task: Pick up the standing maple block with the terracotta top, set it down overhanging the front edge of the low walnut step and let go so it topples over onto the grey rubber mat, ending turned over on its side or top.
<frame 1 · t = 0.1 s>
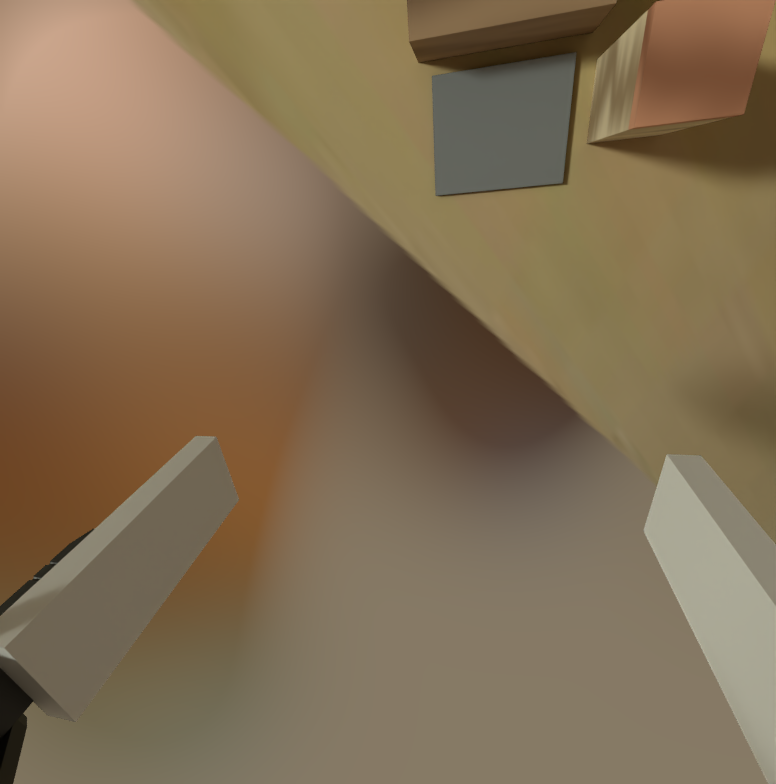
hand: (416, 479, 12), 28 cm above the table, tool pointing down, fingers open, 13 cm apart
block: (629, 98, 27), on the table
mat: (498, 131, 30), on the table
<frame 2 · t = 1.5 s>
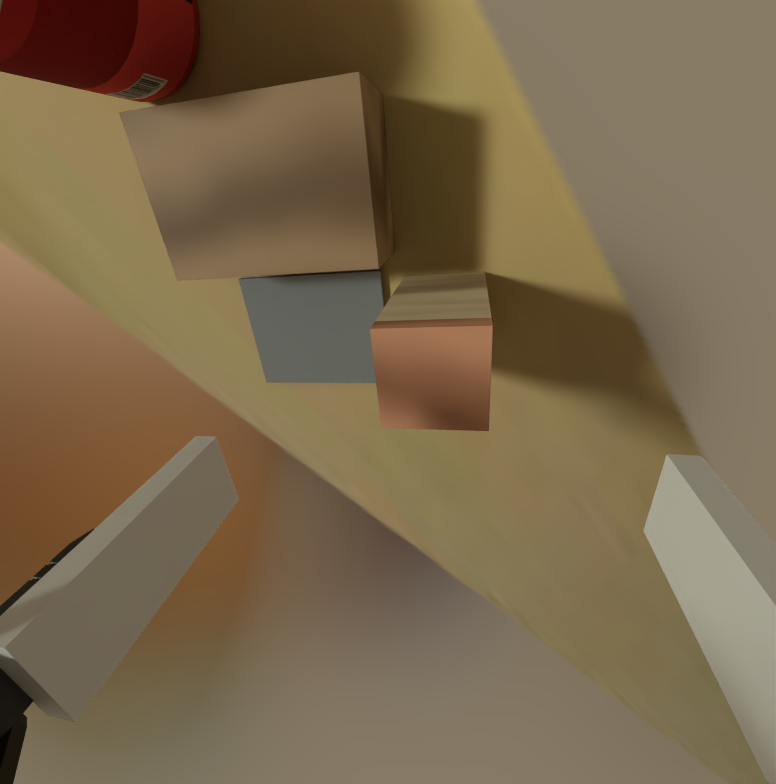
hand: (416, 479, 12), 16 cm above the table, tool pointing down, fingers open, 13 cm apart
block: (444, 312, 25), on the table
step: (293, 190, 23), on the table
canned food: (140, 16, 21), on the table
mat: (319, 330, 28), on the table
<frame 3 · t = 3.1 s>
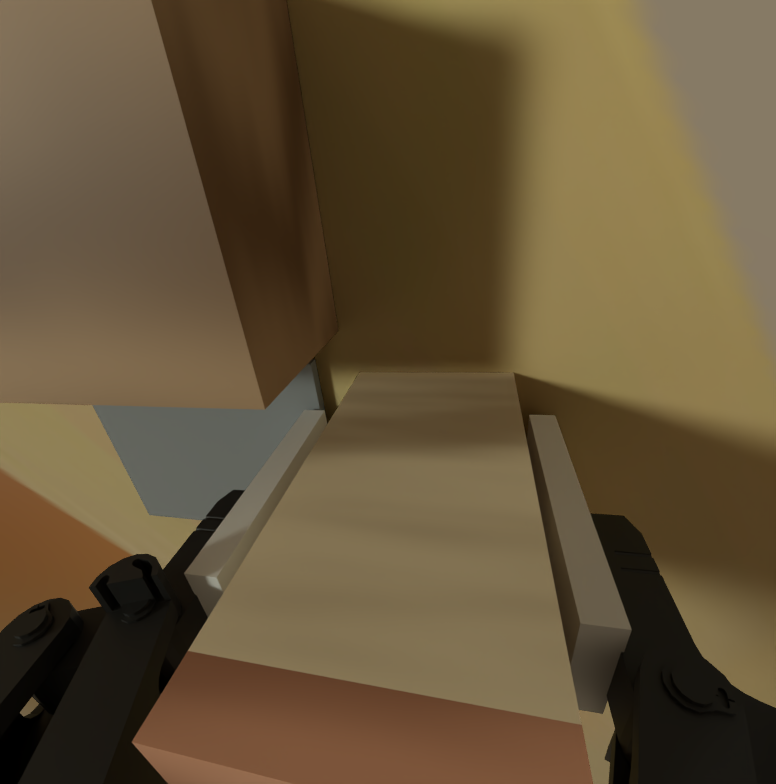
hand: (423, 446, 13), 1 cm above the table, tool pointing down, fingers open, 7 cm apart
block: (435, 435, 14), on the table
step: (135, 210, 12), on the table
mat: (220, 447, 16), on the table
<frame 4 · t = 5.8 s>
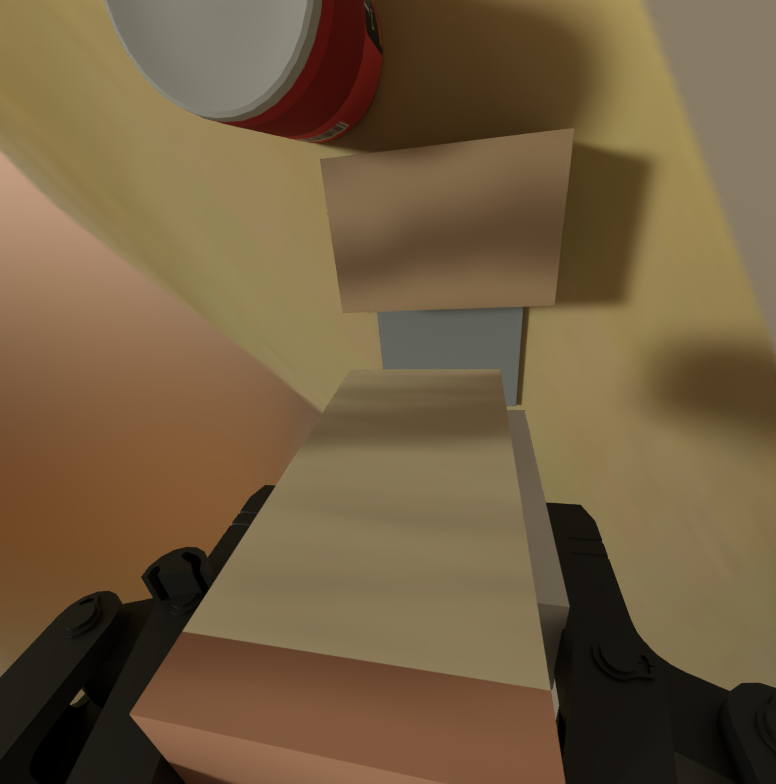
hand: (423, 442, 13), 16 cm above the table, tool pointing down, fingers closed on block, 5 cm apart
block: (425, 431, 14), point 15 cm above the table, touching gripper
step: (446, 225, 24), on the table
canned food: (319, 64, 22), on the table
mat: (448, 355, 29), on the table
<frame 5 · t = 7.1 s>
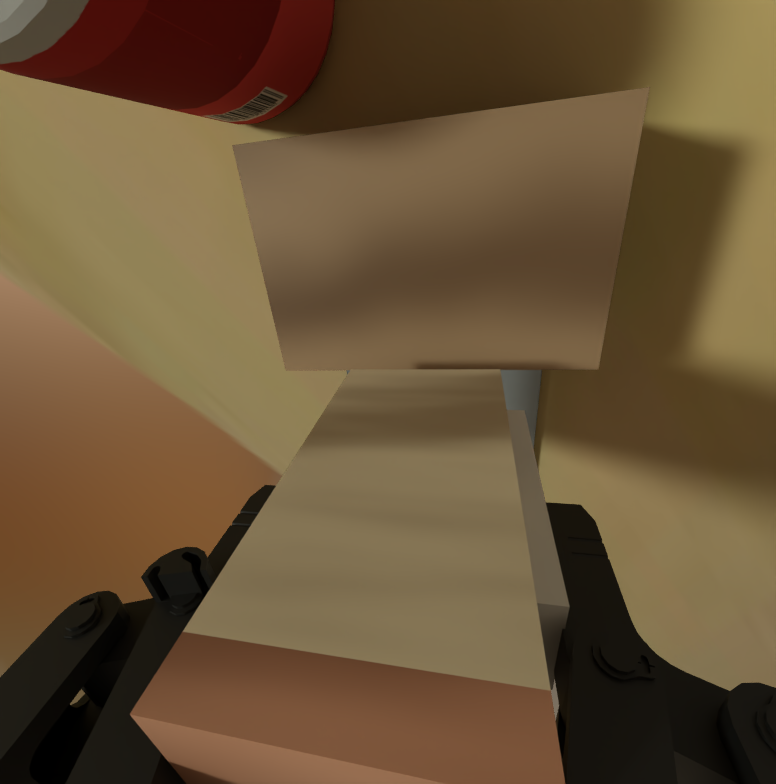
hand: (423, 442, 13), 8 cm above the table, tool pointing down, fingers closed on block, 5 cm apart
block: (425, 431, 14), point 7 cm above the table, touching gripper
step: (435, 242, 17), on the table
canned food: (245, 5, 15), on the table
mat: (441, 413, 21), on the table
when the fingers open (7 cm above the table, at t = 7.6 s): block drops 3 cm and tips over, resting on mat.
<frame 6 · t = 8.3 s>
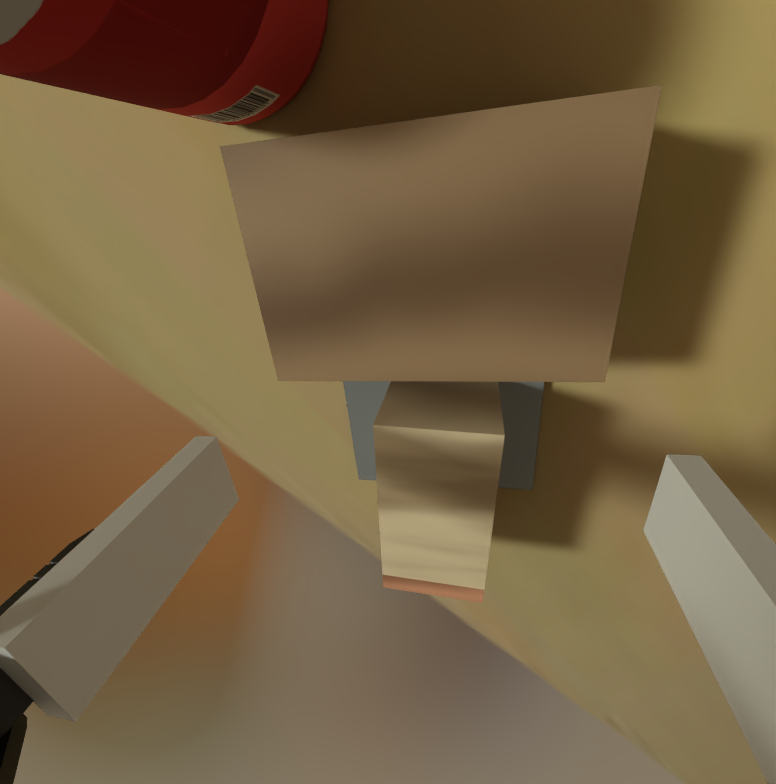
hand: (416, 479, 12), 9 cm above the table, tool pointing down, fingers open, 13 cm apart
block: (441, 398, 17), point 3 cm above the table, tilted 90°, touching mat
step: (434, 247, 17), on the table
canned food: (236, 1, 14), on the table
mat: (440, 422, 21), on the table
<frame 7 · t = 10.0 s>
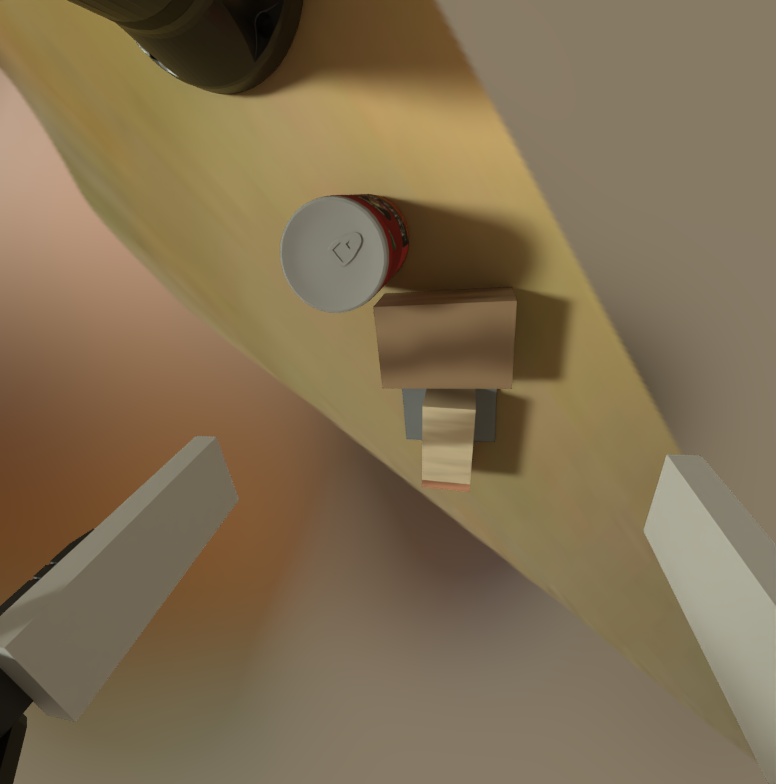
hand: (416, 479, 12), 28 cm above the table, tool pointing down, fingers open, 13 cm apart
block: (450, 395, 38), point 3 cm above the table, tilted 90°, touching mat
step: (446, 330, 38), on the table
canned food: (369, 240, 36), on the table
mat: (449, 408, 42), on the table
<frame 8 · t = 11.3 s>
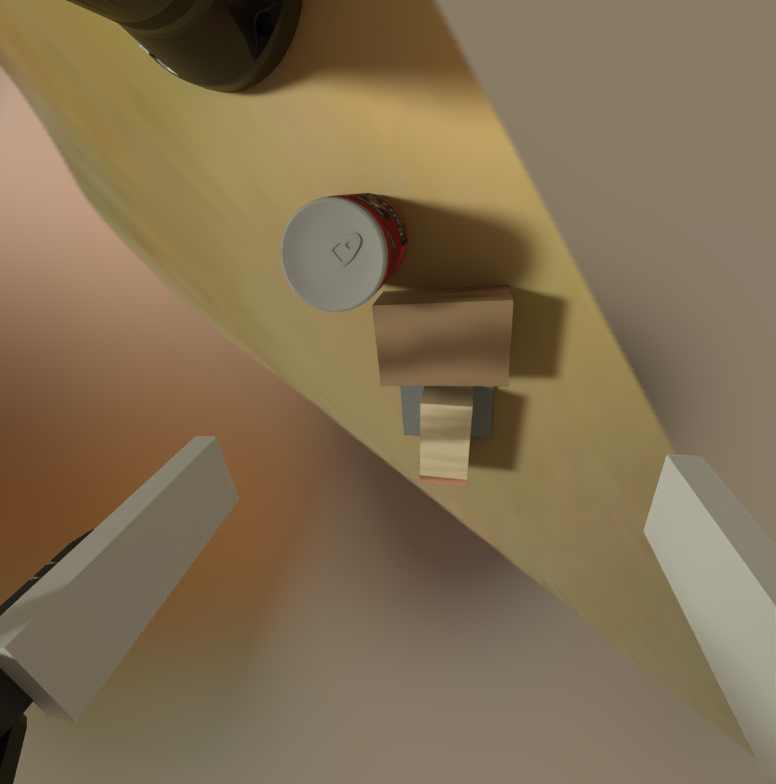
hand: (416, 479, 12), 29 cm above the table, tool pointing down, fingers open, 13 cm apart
block: (447, 392, 39), point 3 cm above the table, tilted 90°, touching mat
step: (444, 328, 39), on the table
canned food: (368, 238, 36), on the table
mat: (446, 405, 43), on the table
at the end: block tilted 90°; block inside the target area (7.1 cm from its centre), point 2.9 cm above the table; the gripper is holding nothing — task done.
